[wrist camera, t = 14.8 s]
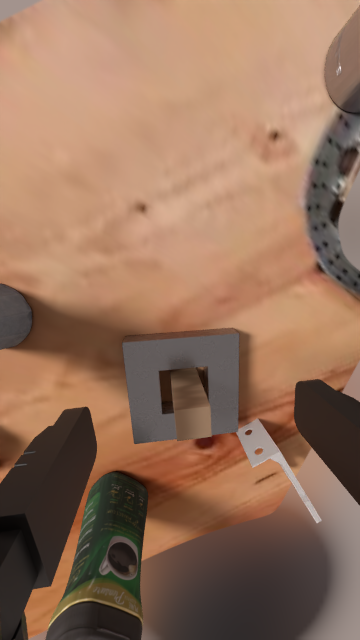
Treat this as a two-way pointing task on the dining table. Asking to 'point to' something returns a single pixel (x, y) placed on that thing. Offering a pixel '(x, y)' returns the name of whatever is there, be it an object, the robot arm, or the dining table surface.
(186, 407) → the tan square peg
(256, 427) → the bracket
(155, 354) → the square hole plate
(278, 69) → the dining table surface
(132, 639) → the coffee jar
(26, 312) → the moka pot
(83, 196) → the dining table surface
